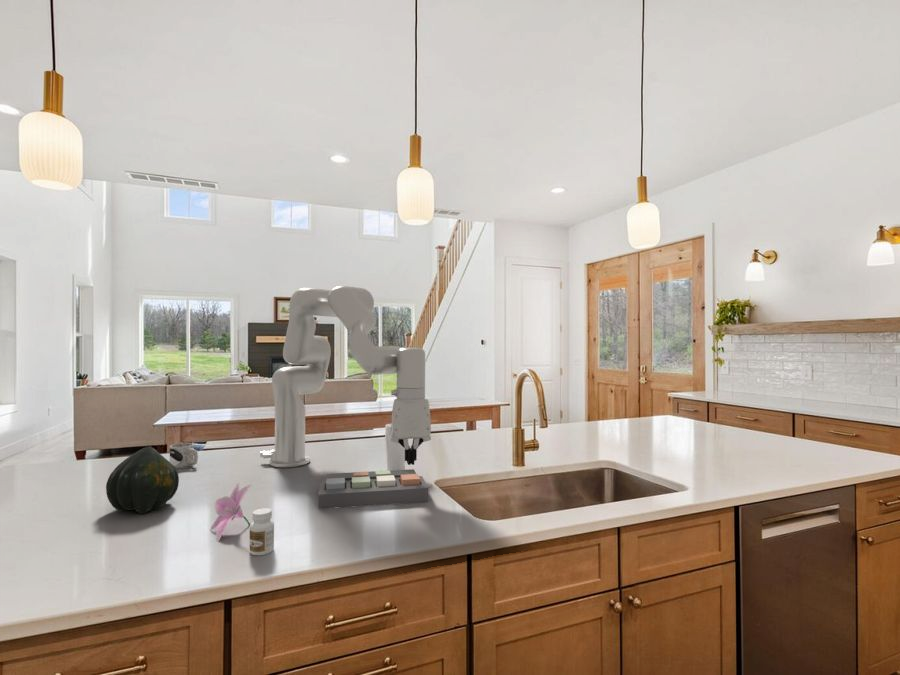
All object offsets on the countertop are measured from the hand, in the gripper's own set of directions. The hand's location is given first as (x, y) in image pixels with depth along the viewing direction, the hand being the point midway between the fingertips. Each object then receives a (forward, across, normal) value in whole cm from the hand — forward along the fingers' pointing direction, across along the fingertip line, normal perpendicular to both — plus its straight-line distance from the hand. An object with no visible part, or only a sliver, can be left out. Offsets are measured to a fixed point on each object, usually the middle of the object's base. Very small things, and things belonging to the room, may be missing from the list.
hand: (410, 463), depth 126 cm
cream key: (+6, -6, 0) cm, 9 cm away
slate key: (+6, -19, 0) cm, 20 cm away
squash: (+8, -65, +3) cm, 65 cm away
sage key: (+6, -13, 0) cm, 14 cm away
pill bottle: (+9, -33, -27) cm, 43 cm away
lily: (+9, -41, -15) cm, 45 cm away
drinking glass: (+8, -2, +20) cm, 22 cm away
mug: (+8, -67, +41) cm, 79 cm away
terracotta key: (+6, 0, 0) cm, 6 cm away
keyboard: (+8, -10, +2) cm, 13 cm away
